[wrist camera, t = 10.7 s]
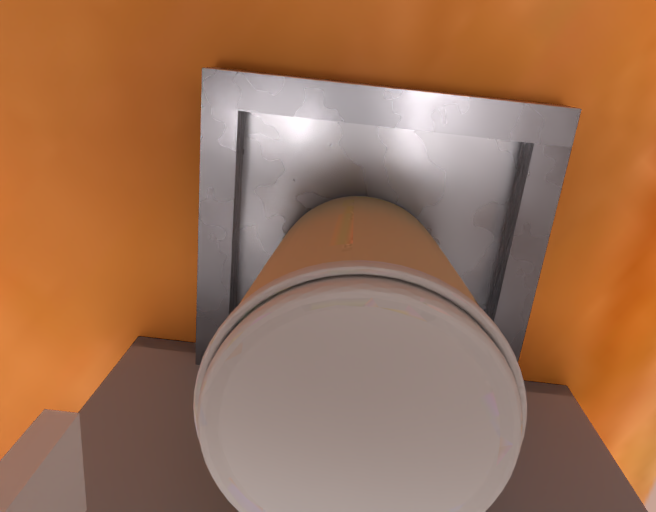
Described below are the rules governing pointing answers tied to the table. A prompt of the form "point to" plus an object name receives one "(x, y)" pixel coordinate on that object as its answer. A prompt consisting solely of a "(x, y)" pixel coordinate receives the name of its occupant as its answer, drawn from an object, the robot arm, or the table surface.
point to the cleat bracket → (377, 179)
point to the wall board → (213, 508)
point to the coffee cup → (359, 376)
